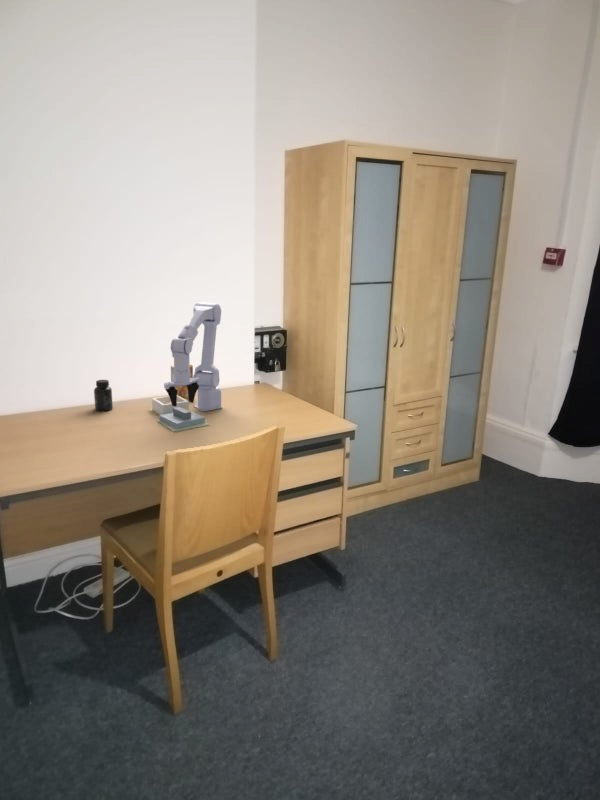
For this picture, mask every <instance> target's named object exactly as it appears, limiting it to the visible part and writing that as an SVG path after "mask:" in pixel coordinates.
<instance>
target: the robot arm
mask: <svg viewBox="0 0 600 800" xmlns="http://www.w3.org/2000/svg"><path fill="white" fill-rule="evenodd" d="M192 311H193V315H192V318H191V319H190V320H189V321H190V322H189V323H188V324H185V325H184V327H183V328H182V330H181V331H180V333H179V335H178V336H177V337H174V338H173V339H172V340H171V343H170V351H171V356H172V358H173V366H174V378H175V380H174V381H171V380H170V381H167V382H164V383H163V385H164V386H163V387H164V390H165V391H166V392H167V394H168V396H169V397H170V400H171V403H172V406H176V405H177V392H178V390H176V388H175V387H179V386H184V385H187V388H188V396H189V399H188V403H191V404H192V403H193V404H194V401H195V396H196V393H197V404H195V405H194V406H193V407H194V408H196V409H198V410H199V411H201V412H206V411H213V410H218V409H222V408H223V406H222V390H221V388H220V387H219V384H220V370H219V369H218V368H217V367H216V366H215V365H214V359H215V347H216V346H215V345H216V339H217V338H216V337H217V336H216V335H217V328H218V327H217V326H218V325H221V320H222V319H221V318H222V309H221V306H220V304H219V303H211V302H200V301H197V302H195V304H194V306H193V310H192ZM202 325H203V327H204V330H203V337H202V339H203V340H202V351H201V360H200V364H198V366H197V367H195V369H194V373H193V378H190V365H191V364H190V363H191V362H190V354H191V352H192V351H193V345H194V341H195V339H196V337H197V336H198V333H199V331H198V329H199V328H200V326H202Z"/></svg>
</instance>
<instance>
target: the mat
mask: <svg viewBox="0 0 600 800" xmlns="http://www.w3.org/2000/svg"><path fill="white" fill-rule="evenodd" d="M156 422H158V423H159V422H160V424H161V425H162V424H163V427H165V428H167V429H169V430H170V431H171V430H172V432H173V433H175V431H176V432H180V431H181V432H182V431H186V430H191V428H192V429H197V428H196V427H198V428H203V427H207V426H208V427H209V426H210V423H208V422H206V421H205V423H201V424H197V425H193V426H189V427H184V428H180V429H176V428H174V427H172V426H169V425H167V424H165V423H163V422H161V421H160V418H159V419H156ZM202 426H203V427H202Z"/></svg>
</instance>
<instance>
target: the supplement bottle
mask: <svg viewBox="0 0 600 800" xmlns="http://www.w3.org/2000/svg"><path fill="white" fill-rule="evenodd" d="M109 381H110V380H108V379H99V380H96V381H95V383H96V384H95V386H96V387H94V390H93V395H94V396H93V397H94V408H95V410H96V412H101V411H104V412H109V410H110V411H111V410H112V409H113V408H114V406H113V391H112V387H111V386H110V383H109Z"/></svg>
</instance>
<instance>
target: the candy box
mask: <svg viewBox="0 0 600 800" xmlns="http://www.w3.org/2000/svg"><path fill="white" fill-rule="evenodd" d="M193 370H194V367H193V365H192V364H190V378H193V376H194V373H193V372H194V371H193ZM174 380H175V378H174V365H170V382H171V381H174ZM175 388H176V390H178V392H177V395H178V396H180V397H182V398H183V399H185V400H189V396H188V388H187V385H184V386H179V387H175Z"/></svg>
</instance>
